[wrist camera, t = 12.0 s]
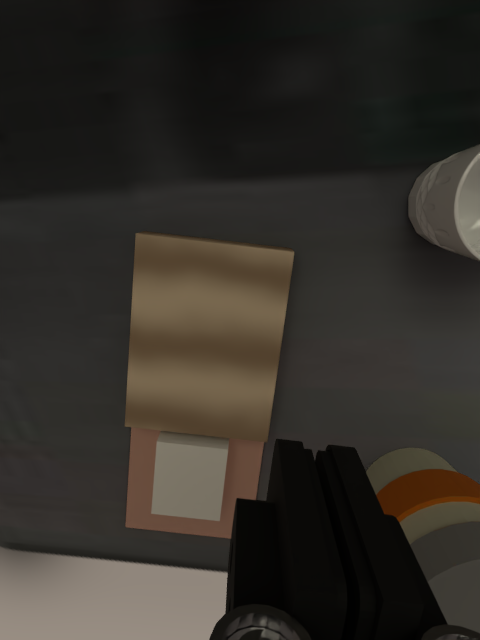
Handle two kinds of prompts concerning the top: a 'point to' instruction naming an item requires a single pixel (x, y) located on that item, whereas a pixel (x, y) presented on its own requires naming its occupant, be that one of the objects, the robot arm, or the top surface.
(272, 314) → the oak board
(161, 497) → the cream block
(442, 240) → the white cup
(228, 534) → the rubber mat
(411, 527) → the reusable coffee cup
